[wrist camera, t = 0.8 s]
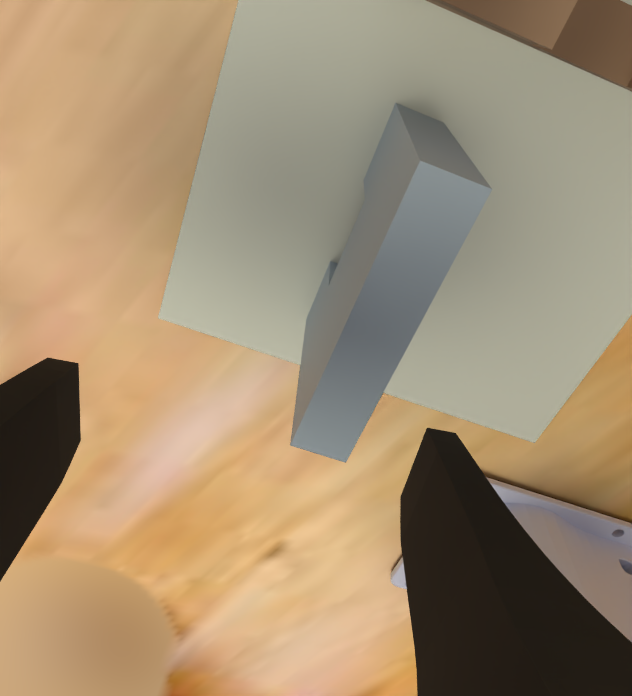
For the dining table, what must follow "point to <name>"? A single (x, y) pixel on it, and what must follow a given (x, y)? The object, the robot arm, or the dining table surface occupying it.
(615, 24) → the walnut slotted plate
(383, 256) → the grey flat block
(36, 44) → the dining table surface
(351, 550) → the dining table surface
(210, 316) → the felt mat
